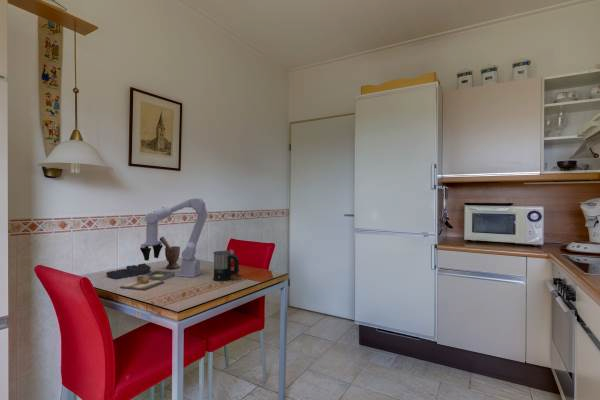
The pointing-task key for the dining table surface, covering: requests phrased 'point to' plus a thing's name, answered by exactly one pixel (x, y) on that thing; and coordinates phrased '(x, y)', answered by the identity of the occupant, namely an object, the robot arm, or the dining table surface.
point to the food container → (232, 254)
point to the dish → (160, 275)
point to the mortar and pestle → (171, 254)
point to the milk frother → (224, 265)
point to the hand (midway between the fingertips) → (151, 259)
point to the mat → (142, 289)
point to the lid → (142, 282)
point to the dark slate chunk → (130, 271)
